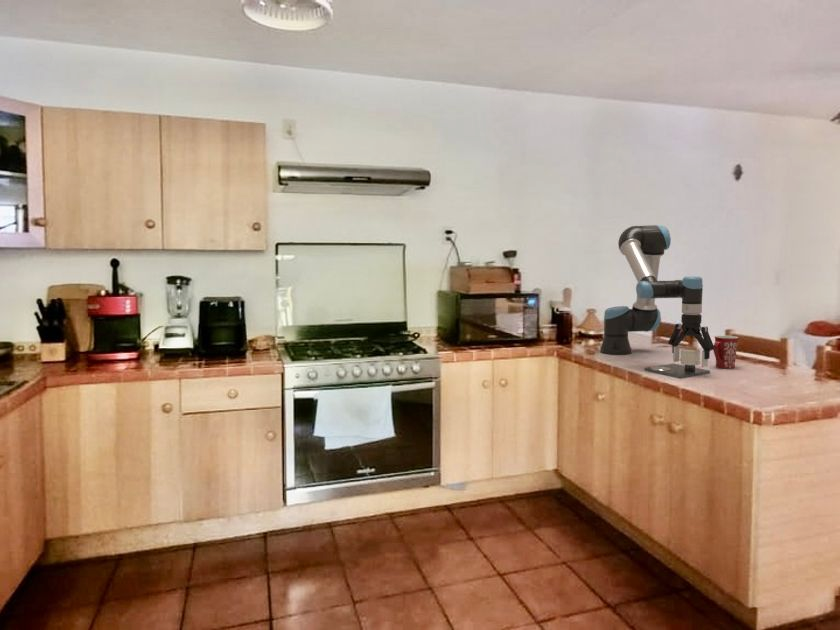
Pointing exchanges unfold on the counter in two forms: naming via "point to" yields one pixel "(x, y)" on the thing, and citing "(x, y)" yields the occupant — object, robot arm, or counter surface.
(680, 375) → the post base
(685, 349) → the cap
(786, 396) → the counter surface
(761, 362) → the counter surface
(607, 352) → the robot arm
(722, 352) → the mug
